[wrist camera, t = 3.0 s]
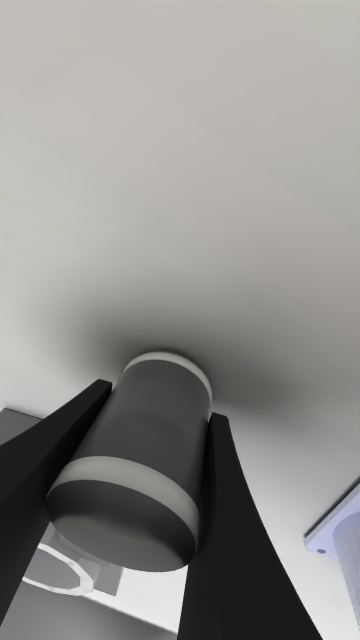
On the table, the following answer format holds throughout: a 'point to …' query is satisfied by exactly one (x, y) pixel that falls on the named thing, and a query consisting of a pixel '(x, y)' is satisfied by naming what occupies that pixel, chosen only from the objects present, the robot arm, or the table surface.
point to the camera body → (60, 544)
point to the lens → (140, 468)
